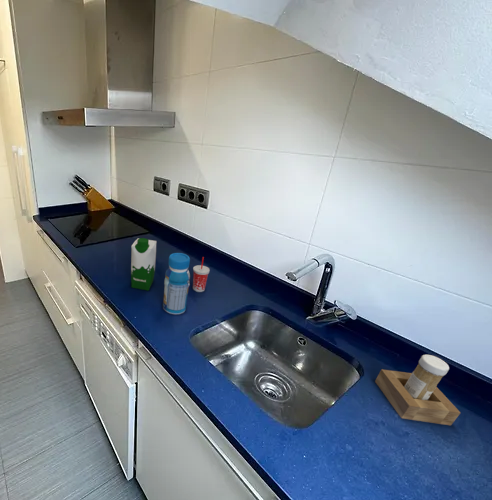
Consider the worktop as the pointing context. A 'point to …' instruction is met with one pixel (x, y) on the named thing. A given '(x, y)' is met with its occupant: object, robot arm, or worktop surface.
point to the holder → (415, 400)
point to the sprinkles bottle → (426, 377)
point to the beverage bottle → (176, 283)
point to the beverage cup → (200, 277)
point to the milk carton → (143, 263)
